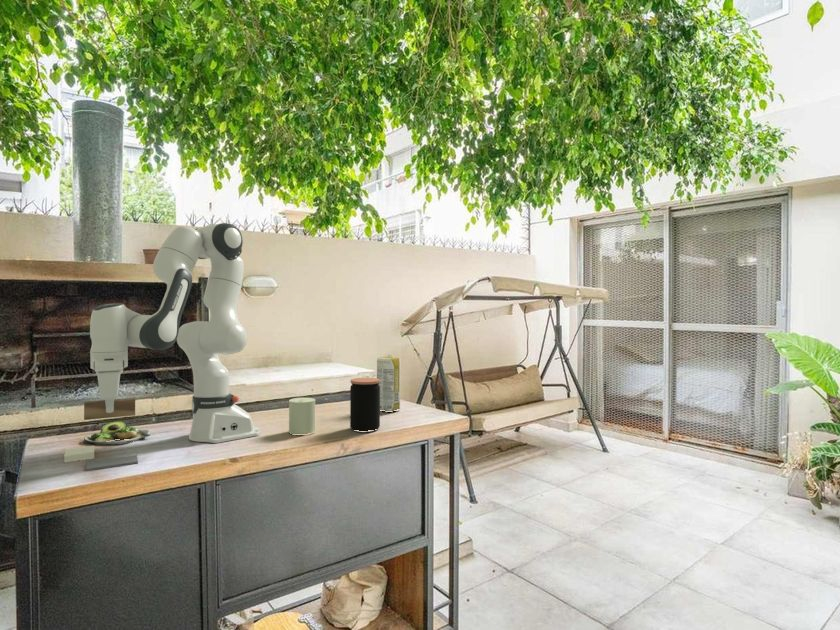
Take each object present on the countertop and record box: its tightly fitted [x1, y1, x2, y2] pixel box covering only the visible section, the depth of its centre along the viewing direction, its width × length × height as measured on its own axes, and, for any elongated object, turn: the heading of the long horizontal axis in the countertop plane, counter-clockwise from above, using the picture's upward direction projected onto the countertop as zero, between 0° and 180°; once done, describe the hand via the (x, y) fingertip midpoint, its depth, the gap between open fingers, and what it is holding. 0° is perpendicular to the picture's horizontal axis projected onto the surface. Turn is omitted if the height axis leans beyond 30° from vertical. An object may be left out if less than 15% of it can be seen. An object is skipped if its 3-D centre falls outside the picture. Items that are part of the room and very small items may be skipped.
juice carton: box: [376, 353, 401, 411], centre depth 209 cm, size 9×8×24 cm
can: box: [288, 397, 316, 434], centre depth 173 cm, size 9×9×12 cm
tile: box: [63, 445, 95, 463], centre depth 144 cm, size 7×2×8 cm
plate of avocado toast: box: [83, 420, 151, 445], centre depth 164 cm, size 19×18×5 cm
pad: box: [85, 454, 139, 472], centre depth 138 cm, size 12×7×1 cm, turn 122°
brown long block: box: [83, 397, 136, 421], centre depth 138 cm, size 3×12×4 cm, turn 122°
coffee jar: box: [349, 377, 381, 431], centre depth 178 cm, size 11×11×18 cm
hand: (110, 410), depth 138 cm, fingers closed on brown long block, 3 cm apart
